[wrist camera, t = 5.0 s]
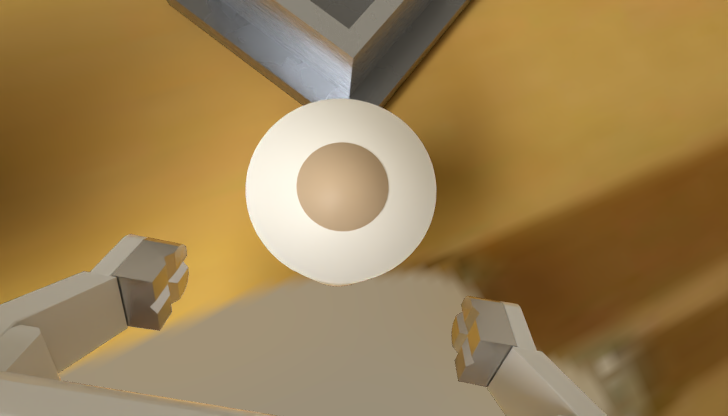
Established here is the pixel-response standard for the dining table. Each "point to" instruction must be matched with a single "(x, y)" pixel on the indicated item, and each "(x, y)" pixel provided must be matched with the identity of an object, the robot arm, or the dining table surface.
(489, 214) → the dining table surface
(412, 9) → the roll stand
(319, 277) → the paper roll
